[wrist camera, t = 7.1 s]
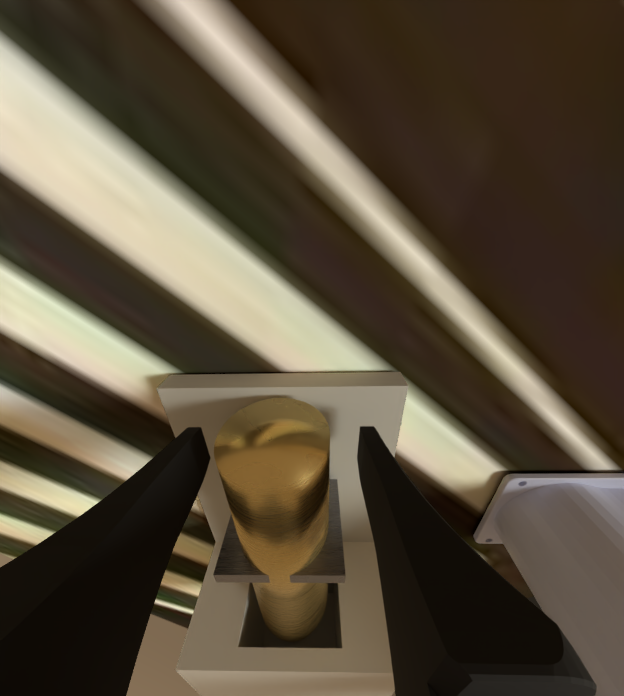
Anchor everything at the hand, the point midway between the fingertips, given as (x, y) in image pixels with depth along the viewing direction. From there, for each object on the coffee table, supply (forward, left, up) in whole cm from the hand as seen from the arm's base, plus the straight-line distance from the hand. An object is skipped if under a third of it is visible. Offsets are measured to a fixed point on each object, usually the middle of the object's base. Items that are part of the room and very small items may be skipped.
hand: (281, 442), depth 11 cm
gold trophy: (0, +5, -1) cm, 6 cm away
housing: (0, +10, -3) cm, 10 cm away
